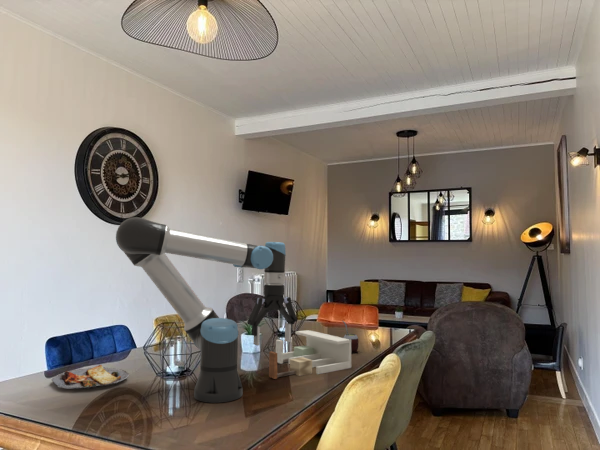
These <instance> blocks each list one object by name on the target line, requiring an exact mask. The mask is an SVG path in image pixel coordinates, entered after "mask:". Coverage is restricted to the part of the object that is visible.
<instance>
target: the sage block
mask: <svg viewBox="0 0 600 450" xmlns="http://www.w3.org/2000/svg"><path fill="white" fill-rule="evenodd" d="M275 352H276V353H277V364H284V363H289V358H287V359H283V353H284V341H283V340H280V339H276V340H275ZM293 352H294V357H298V356H305V355H311V354H314V348H313V347H309V346H306V345H305V344H303V345H298V346H294V347H293Z"/></svg>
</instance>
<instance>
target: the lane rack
mask: <svg viewBox="0 0 600 450" xmlns="http://www.w3.org/2000/svg"><path fill="white" fill-rule="evenodd" d="M295 335H299V336H301V337H302V336H303V337H305V341H306V346H309V347H313V348H314V354H311V355H305V356H298V357H294V351H289V352H283V359H287V358H289V361H288V365H289V364H290V359H295V358H301V357H304V358H307V359H310V360H312V369H313V368H315V374H316V375H320V374H321V375H322V374H325V373H326V374H327V373H332V372H337V371H343V370H347V369H352V354H351V340H350V339H346V338H344V337H340V336H337V335H332V334H328V333H323V332H319V331H315V330H311V329H309V330H308V329H306V330H297V331H295Z"/></svg>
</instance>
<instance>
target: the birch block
mask: <svg viewBox="0 0 600 450" xmlns="http://www.w3.org/2000/svg"><path fill="white" fill-rule="evenodd" d="M268 356H269V357H268V358H269V359H268V360H269V361H268V377H269V378H271V379H275V380H276V379H278V378H280V377H281V378H282V377H286V376H290V375H291V376H292V375H295V374H296V376H297V377H301V376H307V375H311V374H313V368H312V360H310V359H307V358H304V357H301V358H295V359H290V365H289V371H284V372H278V363H277V353H276V351H268Z"/></svg>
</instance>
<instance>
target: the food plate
mask: <svg viewBox="0 0 600 450" xmlns="http://www.w3.org/2000/svg"><path fill="white" fill-rule="evenodd" d="M129 376H130V373H129V372H128V371H126V370H124V369H122V368H121V369H120V368H116V367H103V365H102V364H98V365H96V366H94V367H90V368H89V367H88V368H79V369H74V370H70V371H69V370H65V371H64V372H62V373H59V374H57V375H56V376H54V377H52V379H51V381H52V382H53V384H54V385H55V386H57V388H62V389H68V390H70V389H75V390H82V389H83V390H85V389H86V390H88V389H89V390H90V389H94V388H95V389H96V388H101V387H106V386H110V385H116V384H118V383H120V382H122V381H124V380H126V379H128V378H129Z"/></svg>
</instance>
